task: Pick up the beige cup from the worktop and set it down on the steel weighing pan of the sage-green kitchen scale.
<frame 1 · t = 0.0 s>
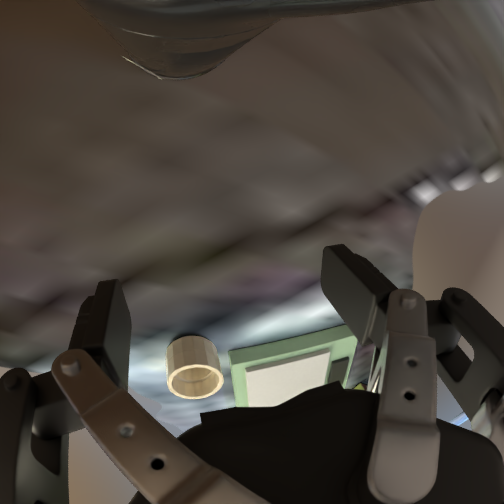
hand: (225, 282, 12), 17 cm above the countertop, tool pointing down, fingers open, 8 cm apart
beige cup: (190, 351, 36), on the countertop
scale: (291, 371, 42), on the countertop
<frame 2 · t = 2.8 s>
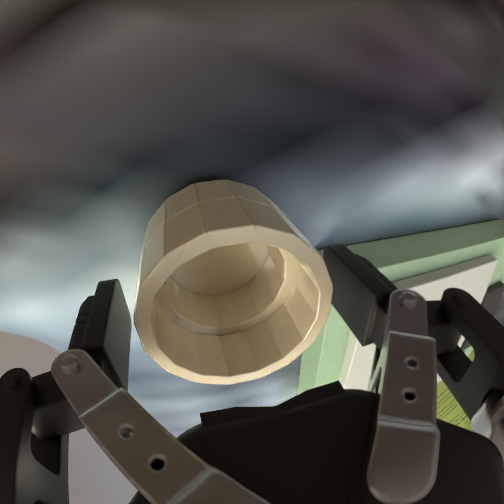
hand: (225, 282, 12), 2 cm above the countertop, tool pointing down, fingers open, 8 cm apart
beige cup: (214, 246, 14), on the countertop
scale: (409, 318, 20), on the countertop
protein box: (435, 397, 31), on the countertop
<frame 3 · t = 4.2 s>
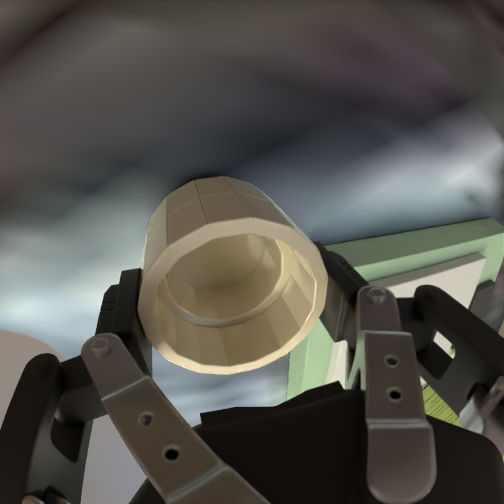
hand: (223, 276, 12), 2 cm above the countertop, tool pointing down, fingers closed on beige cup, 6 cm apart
beige cup: (214, 241, 14), on the countertop, touching gripper
scale: (398, 317, 20), on the countertop
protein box: (430, 396, 32), on the countertop
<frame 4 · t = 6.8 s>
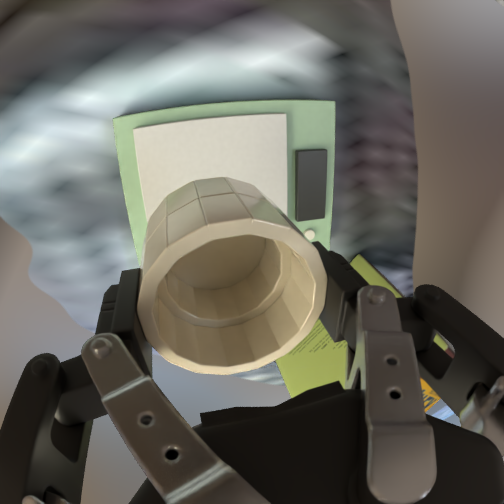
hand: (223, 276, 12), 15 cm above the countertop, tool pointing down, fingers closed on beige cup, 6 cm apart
beige cup: (213, 241, 14), point 13 cm above the countertop, touching gripper
scale: (229, 184, 26), on the countertop
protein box: (337, 317, 37), on the countertop
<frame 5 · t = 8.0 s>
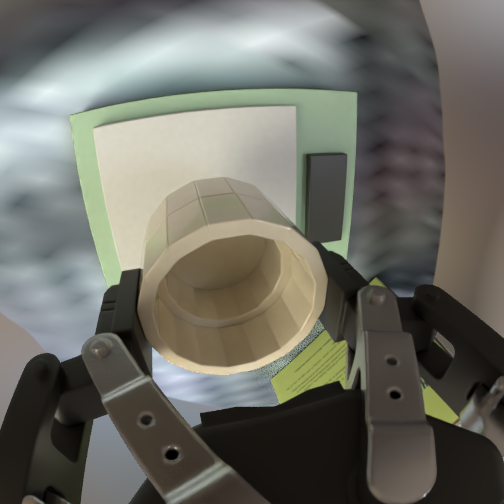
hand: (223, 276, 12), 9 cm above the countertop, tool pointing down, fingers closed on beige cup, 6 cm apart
beige cup: (213, 241, 14), point 7 cm above the countertop, touching gripper
scale: (222, 196, 21), on the countertop
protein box: (347, 346, 32), on the countertop
when the fingers open (6 cm above the countertop, at t = 9.3 s): beige cup stays where it is, resting on scale.
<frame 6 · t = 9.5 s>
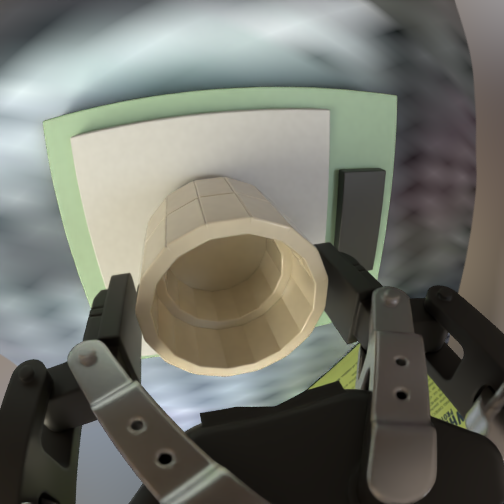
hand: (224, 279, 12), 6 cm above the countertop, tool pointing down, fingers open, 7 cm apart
beige cup: (214, 242, 14), point 3 cm above the countertop, touching scale
scale: (234, 219, 17), on the countertop
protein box: (364, 372, 28), on the countertop
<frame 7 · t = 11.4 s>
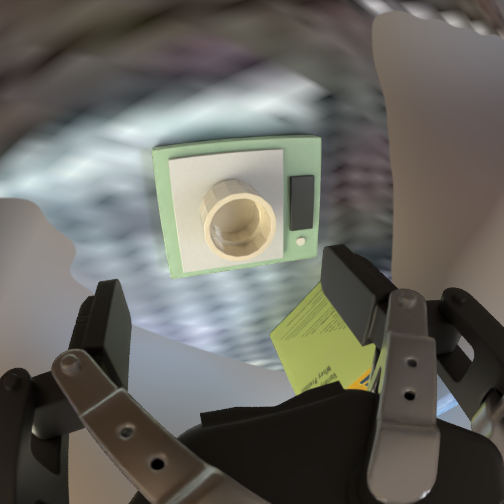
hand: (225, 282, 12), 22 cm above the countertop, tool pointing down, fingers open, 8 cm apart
beige cup: (230, 209, 31), point 3 cm above the countertop, touching scale
scale: (239, 201, 34), on the countertop
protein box: (325, 311, 45), on the countertop
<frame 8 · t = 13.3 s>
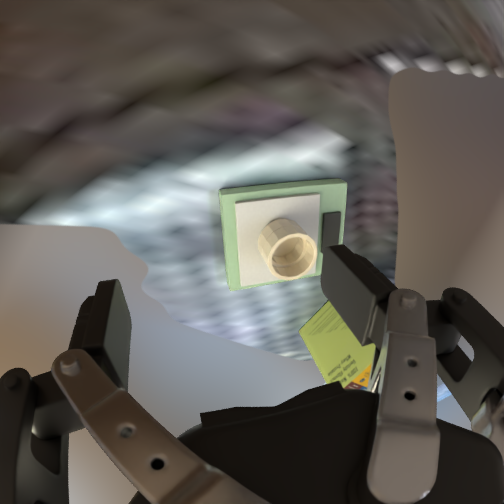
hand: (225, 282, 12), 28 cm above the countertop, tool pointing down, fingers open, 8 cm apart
beige cup: (279, 239, 41), point 3 cm above the countertop, touching scale
scale: (282, 230, 44), on the countertop
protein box: (342, 311, 55), on the countertop
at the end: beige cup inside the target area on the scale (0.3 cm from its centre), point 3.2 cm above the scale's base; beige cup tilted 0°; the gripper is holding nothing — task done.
